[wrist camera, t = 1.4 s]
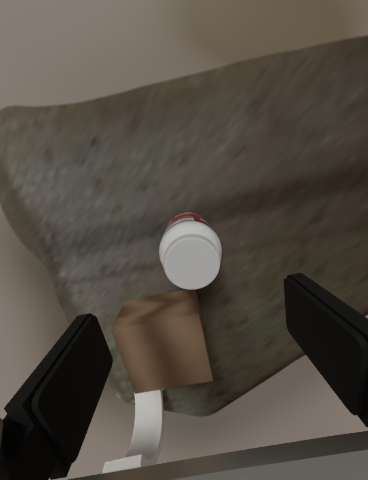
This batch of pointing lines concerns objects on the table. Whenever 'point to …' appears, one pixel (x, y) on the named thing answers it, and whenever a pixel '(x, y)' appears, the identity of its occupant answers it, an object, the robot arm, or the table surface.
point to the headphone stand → (143, 433)
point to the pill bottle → (190, 251)
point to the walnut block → (163, 341)
